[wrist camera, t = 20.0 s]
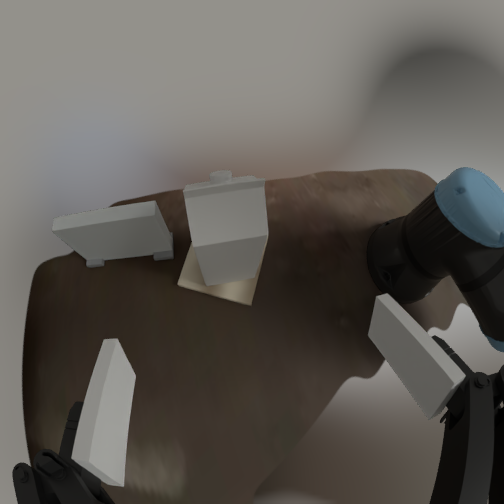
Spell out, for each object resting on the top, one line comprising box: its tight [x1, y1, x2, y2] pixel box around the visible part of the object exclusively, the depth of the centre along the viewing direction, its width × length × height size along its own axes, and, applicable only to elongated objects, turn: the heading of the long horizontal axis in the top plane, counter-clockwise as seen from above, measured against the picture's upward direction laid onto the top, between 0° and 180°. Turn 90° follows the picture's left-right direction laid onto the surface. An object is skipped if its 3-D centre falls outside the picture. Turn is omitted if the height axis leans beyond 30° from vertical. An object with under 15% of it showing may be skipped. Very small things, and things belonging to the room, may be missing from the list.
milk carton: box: [183, 170, 268, 286], centre depth 31 cm, size 7×7×19 cm
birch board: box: [177, 237, 268, 306], centre depth 41 cm, size 11×11×1 cm
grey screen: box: [52, 201, 174, 268], centre depth 35 cm, size 15×4×12 cm, turn 98°
